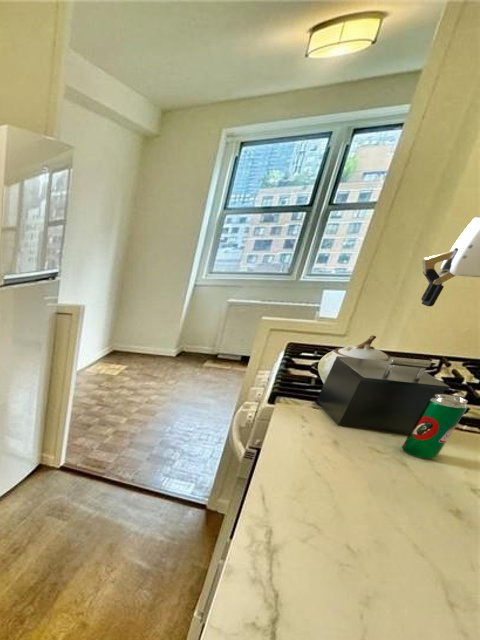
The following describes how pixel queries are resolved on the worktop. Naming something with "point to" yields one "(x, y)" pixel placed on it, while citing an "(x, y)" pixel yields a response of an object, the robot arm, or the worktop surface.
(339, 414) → the bin
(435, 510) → the worktop surface
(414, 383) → the bin lid
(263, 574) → the worktop surface
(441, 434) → the soda can
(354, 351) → the sugar bowl
